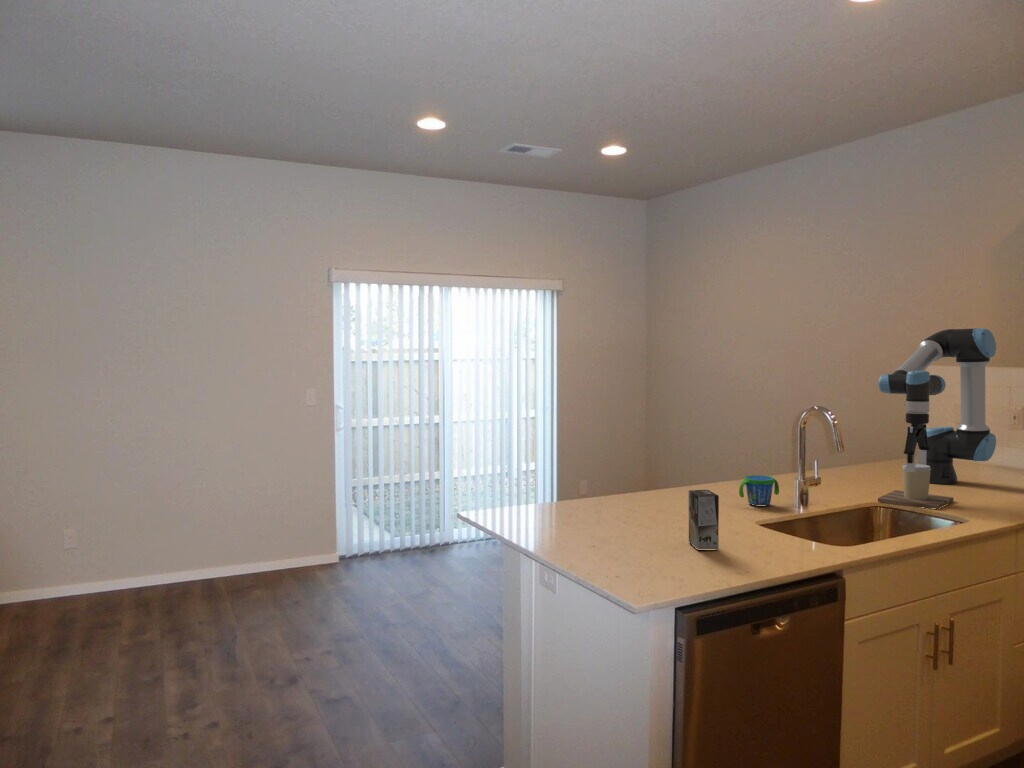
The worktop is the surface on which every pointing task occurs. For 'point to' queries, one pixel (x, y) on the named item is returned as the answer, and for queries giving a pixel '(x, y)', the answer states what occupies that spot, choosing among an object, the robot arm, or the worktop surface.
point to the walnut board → (915, 500)
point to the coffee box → (703, 519)
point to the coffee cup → (916, 482)
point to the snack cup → (759, 489)
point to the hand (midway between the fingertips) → (916, 469)
